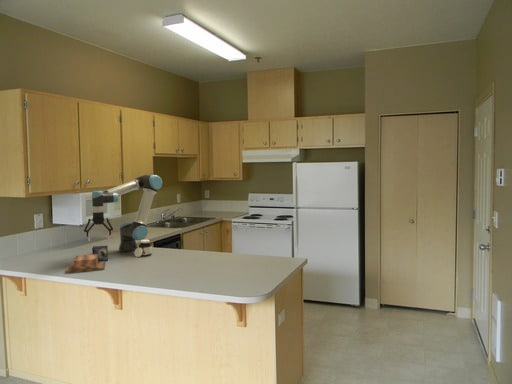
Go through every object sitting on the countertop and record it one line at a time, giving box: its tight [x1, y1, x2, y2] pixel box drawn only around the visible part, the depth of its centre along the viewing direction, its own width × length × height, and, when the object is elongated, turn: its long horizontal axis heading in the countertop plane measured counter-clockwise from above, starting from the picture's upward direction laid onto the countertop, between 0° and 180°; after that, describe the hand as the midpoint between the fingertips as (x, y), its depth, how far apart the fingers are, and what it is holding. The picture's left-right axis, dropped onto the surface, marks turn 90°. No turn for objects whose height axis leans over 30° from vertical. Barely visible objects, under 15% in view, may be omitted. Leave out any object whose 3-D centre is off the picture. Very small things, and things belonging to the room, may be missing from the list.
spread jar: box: [134, 239, 153, 258], centre depth 323 cm, size 12×11×12 cm
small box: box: [91, 245, 109, 262], centre depth 310 cm, size 11×6×10 cm, turn 105°
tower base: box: [65, 254, 107, 274], centre depth 289 cm, size 24×19×8 cm
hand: (99, 240), depth 309 cm, fingers open, 13 cm apart
